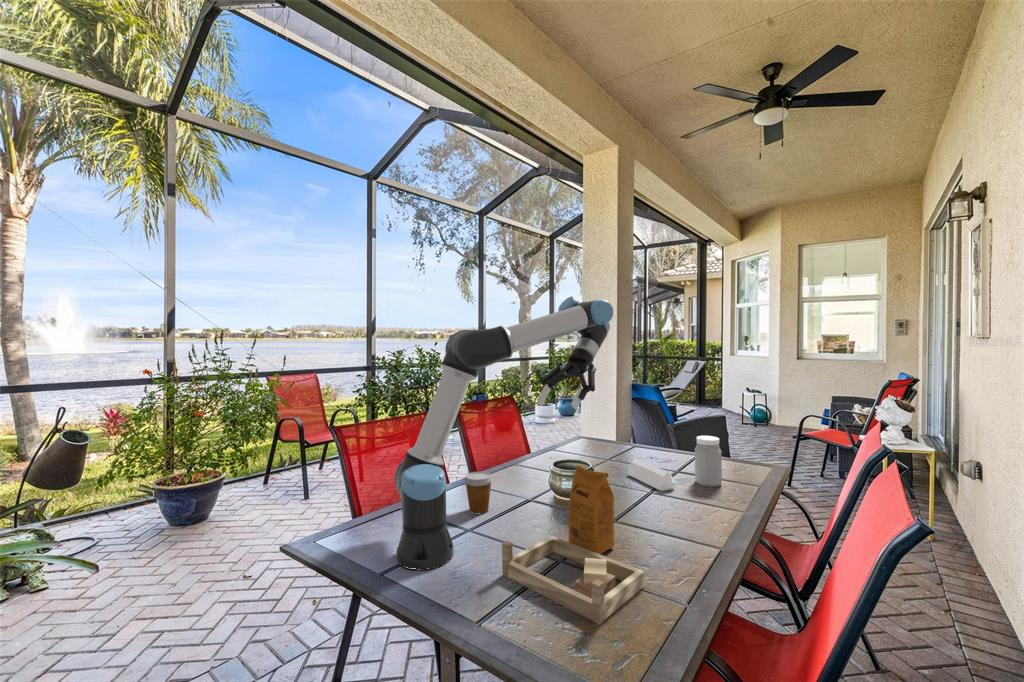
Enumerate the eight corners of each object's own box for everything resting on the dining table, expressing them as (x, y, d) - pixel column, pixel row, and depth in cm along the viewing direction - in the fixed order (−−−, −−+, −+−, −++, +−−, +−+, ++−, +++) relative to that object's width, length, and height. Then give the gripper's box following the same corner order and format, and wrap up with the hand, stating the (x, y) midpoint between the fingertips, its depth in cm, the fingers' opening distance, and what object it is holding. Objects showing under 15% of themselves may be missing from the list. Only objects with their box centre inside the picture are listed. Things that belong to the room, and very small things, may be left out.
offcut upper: (606, 588, 101) (606, 574, 101) (583, 585, 102) (583, 572, 102) (606, 571, 108) (606, 559, 108) (585, 570, 109) (585, 557, 109)
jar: (689, 481, 179) (688, 436, 179) (707, 478, 184) (706, 434, 183) (709, 489, 171) (709, 441, 170) (727, 485, 175) (727, 438, 174)
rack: (599, 624, 93) (599, 586, 92) (502, 575, 112) (502, 543, 112) (645, 586, 106) (644, 552, 106) (551, 548, 126) (551, 519, 126)
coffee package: (587, 533, 135) (586, 460, 135) (619, 549, 125) (618, 470, 124) (562, 542, 129) (561, 466, 129) (594, 560, 119) (592, 477, 119)
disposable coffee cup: (480, 518, 147) (479, 481, 147) (459, 512, 153) (458, 476, 153) (498, 509, 155) (498, 474, 155) (477, 503, 161) (477, 469, 160)
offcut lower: (598, 604, 100) (598, 591, 100) (575, 594, 104) (575, 581, 104) (615, 588, 106) (615, 576, 106) (593, 579, 110) (593, 567, 110)
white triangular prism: (682, 479, 171) (643, 463, 193) (669, 472, 169) (631, 456, 191) (675, 498, 170) (636, 479, 192) (661, 490, 167) (624, 472, 190)
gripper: (620, 363, 144) (594, 416, 134) (559, 361, 162) (531, 408, 151) (611, 347, 141) (583, 401, 130) (549, 346, 158) (520, 394, 148)
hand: (555, 405), depth 141 cm, fingers open, 13 cm apart
